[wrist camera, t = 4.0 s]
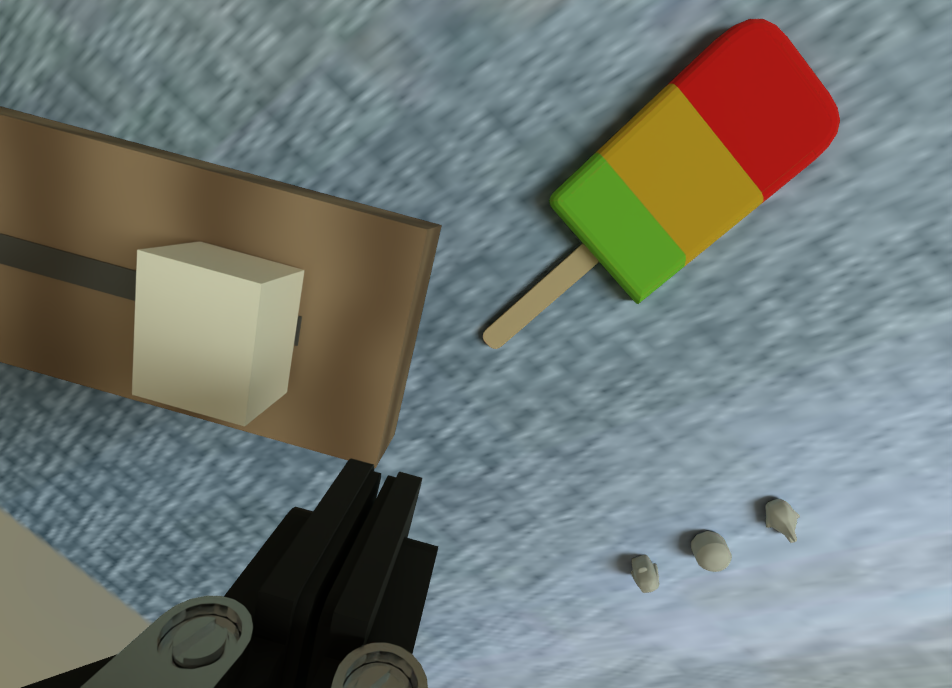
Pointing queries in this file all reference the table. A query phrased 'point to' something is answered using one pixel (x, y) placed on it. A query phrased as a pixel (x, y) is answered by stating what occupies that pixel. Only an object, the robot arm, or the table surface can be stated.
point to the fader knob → (213, 329)
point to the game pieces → (716, 546)
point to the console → (217, 223)
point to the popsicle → (687, 167)
